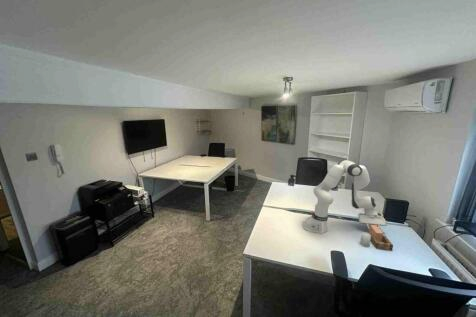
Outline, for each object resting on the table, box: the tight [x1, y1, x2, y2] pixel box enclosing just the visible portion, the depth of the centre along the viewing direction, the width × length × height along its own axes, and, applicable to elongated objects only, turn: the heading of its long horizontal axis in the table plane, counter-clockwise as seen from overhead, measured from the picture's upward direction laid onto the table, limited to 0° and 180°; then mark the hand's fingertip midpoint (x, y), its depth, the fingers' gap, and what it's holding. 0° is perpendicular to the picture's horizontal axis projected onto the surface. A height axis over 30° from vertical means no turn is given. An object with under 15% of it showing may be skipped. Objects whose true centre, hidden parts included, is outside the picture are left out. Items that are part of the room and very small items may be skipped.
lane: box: [370, 234, 394, 252], centre depth 151 cm, size 11×12×5 cm
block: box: [368, 225, 384, 243], centre depth 160 cm, size 5×12×8 cm, turn 167°
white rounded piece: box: [359, 231, 371, 248], centre depth 152 cm, size 6×6×9 cm
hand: (373, 229), depth 164 cm, fingers closed on block, 5 cm apart
